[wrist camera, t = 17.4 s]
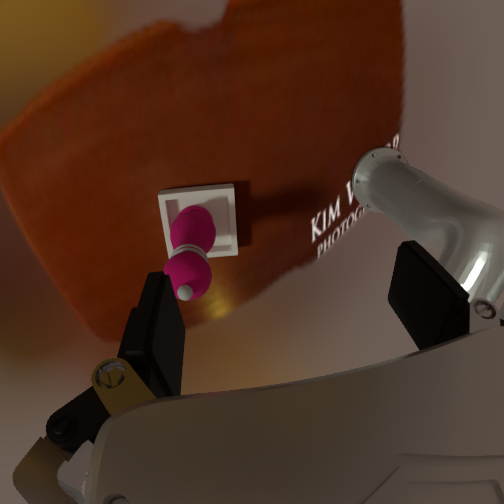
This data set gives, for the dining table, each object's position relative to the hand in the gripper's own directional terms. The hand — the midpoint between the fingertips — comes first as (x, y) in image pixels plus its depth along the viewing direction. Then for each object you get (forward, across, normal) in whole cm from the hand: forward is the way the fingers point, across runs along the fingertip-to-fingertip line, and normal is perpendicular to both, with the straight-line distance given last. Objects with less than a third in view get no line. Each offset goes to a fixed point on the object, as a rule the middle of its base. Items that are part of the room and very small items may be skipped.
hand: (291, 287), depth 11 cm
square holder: (+37, +8, +12) cm, 40 cm away
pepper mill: (+37, +9, +12) cm, 40 cm away
